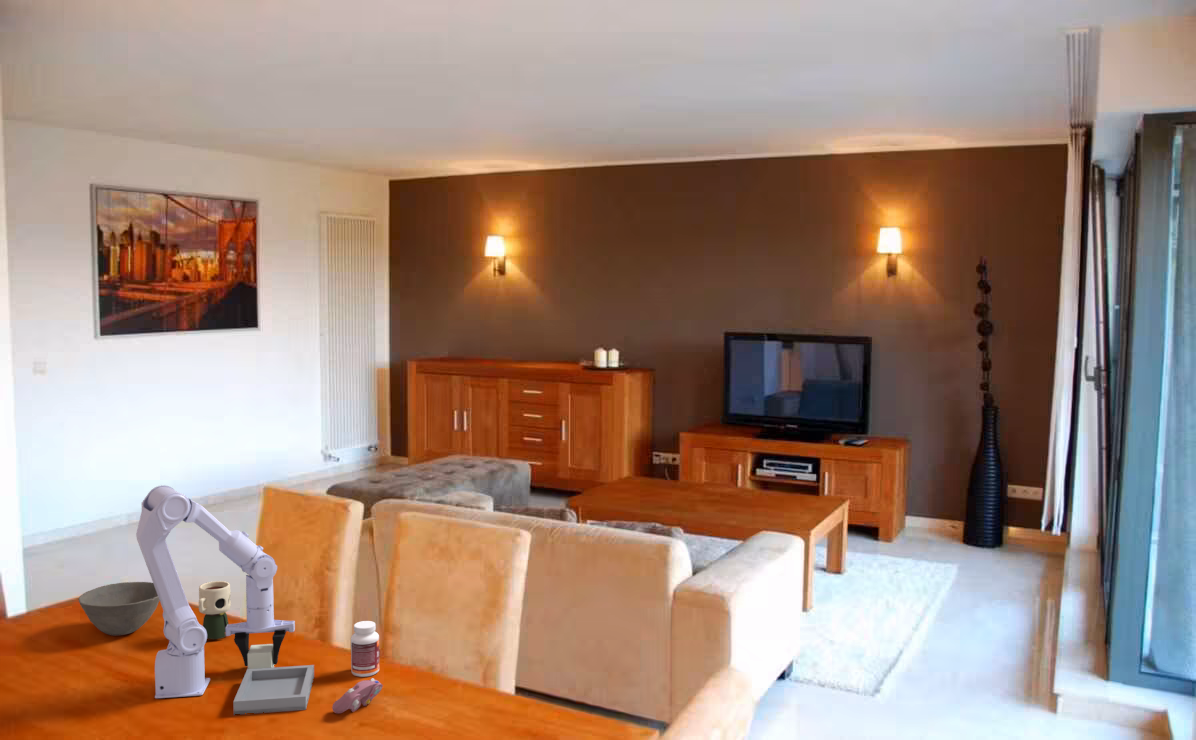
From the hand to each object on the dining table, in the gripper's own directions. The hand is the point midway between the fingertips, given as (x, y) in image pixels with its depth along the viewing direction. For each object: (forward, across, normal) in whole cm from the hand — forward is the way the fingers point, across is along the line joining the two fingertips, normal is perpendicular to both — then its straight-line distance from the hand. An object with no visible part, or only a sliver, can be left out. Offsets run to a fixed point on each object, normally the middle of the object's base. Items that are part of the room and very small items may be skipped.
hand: (261, 663), depth 211 cm
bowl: (+2, +37, -29) cm, 47 cm away
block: (+2, 0, 0) cm, 2 cm away
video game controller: (+2, -22, +23) cm, 32 cm away
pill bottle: (+2, -23, +5) cm, 24 cm away
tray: (+1, -5, +14) cm, 15 cm away
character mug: (+2, +14, -22) cm, 26 cm away
